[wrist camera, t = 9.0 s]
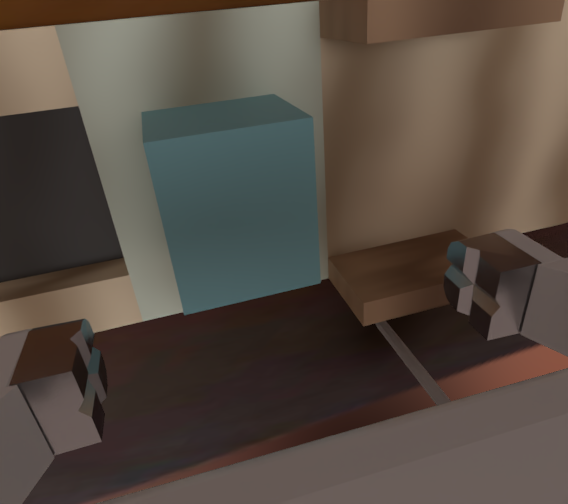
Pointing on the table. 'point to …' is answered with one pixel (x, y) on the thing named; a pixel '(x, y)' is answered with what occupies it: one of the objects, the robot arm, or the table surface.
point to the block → (235, 198)
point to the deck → (327, 140)
